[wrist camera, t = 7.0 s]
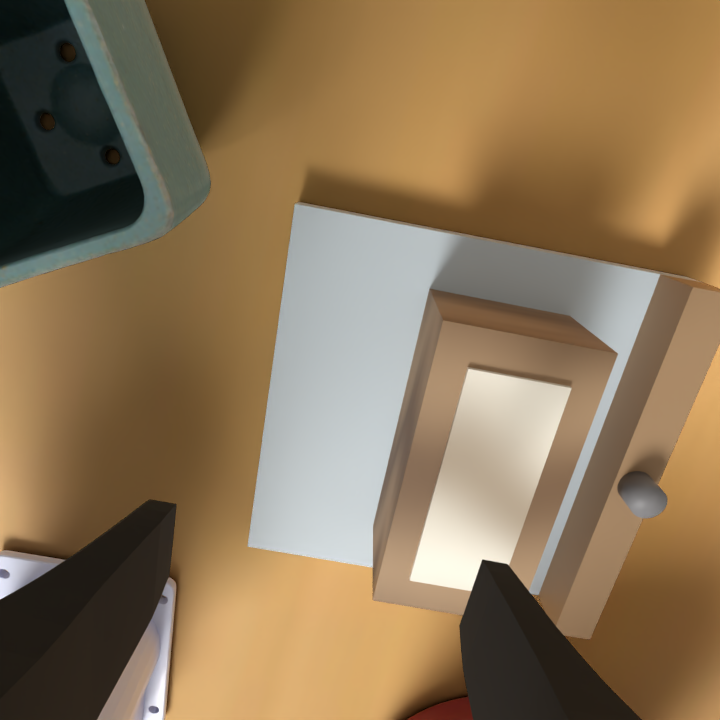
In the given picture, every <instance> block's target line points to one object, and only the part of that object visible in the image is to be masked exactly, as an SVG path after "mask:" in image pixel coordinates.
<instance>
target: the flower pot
mask: <svg viewBox="0 0 720 720" xmlns="http://www.w3.org/2000/svg"><path fill="white" fill-rule="evenodd" d="M64 43H69V44H71V45H72V46H73V47H74V48H75V52H76V56H75V59H74V60H73V61H71V62H67V61H65V60H64V59H63V58H62V57H61V55H60V48H61V45H63V44H64ZM43 113H49V114H51V115H52V116H53V118H54V121H55V125H54V128H53V129H51V130H46V129H44V128H43V127H42V125H41V123H40V117H41V115H42V114H43ZM108 149H115V150H116V151H118V153H119V155H120V160H119V162H118V163H117V164H110V163H109V162H108V161H107V160H106V158H105V154H106V151H107V150H108ZM210 185H211V181H210V174H209V171H208V167H207V164H206V161H205V158H204V156H203V153H202V151H201V148H200V145H199V143H198V140H197V138H196V135H195V133H194V130H193V128H192V125H191V122H190V120H189V117H188V114H187V112H186V109H185V107H184V104H183V101H182V99H181V96H180V93H179V91H178V88H177V85H176V83H175V80H174V77H173V75H172V72H171V69H170V67H169V64H168V61H167V59H166V56H165V53H164V51H163V48H162V45H161V43H160V40H159V37H158V35H157V32H156V29H155V27H154V24H153V21H152V19H151V16H150V13H149V11H148V8H147V5H146V3H145V0H0V288H1V287H4V286H7V285H10V284H13V283H16V282H19V281H22V280H25V279H28V278H31V277H34V276H37V275H40V274H44V273H48V272H51V271H54V270H57V269H60V268H63V267H67V266H70V265H74V264H77V263H80V262H84V261H87V260H90V259H93V258H97V257H100V256H103V255H106V254H109V253H114V252H117V251H121V250H126V249H129V248H132V247H135V246H138V245H141V244H144V243H148V242H150V241H153V240H156V239H158V238H160V237H162V236H163V235H165V234H166V233H168V232H169V231H170V230H172V229H173V228H174V227H176V226H177V225H178V224H179V223H181V222H182V221H183V220H184V219H186V218H187V217H188V216H189V215H190V214H191V213H192V212H194V211H195V210H196V209H197V208H198V207H199V206H200V205H201V204H202V203H203V202H204V201H205V199H206V198H207V196H208V194H209V191H210Z"/></svg>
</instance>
